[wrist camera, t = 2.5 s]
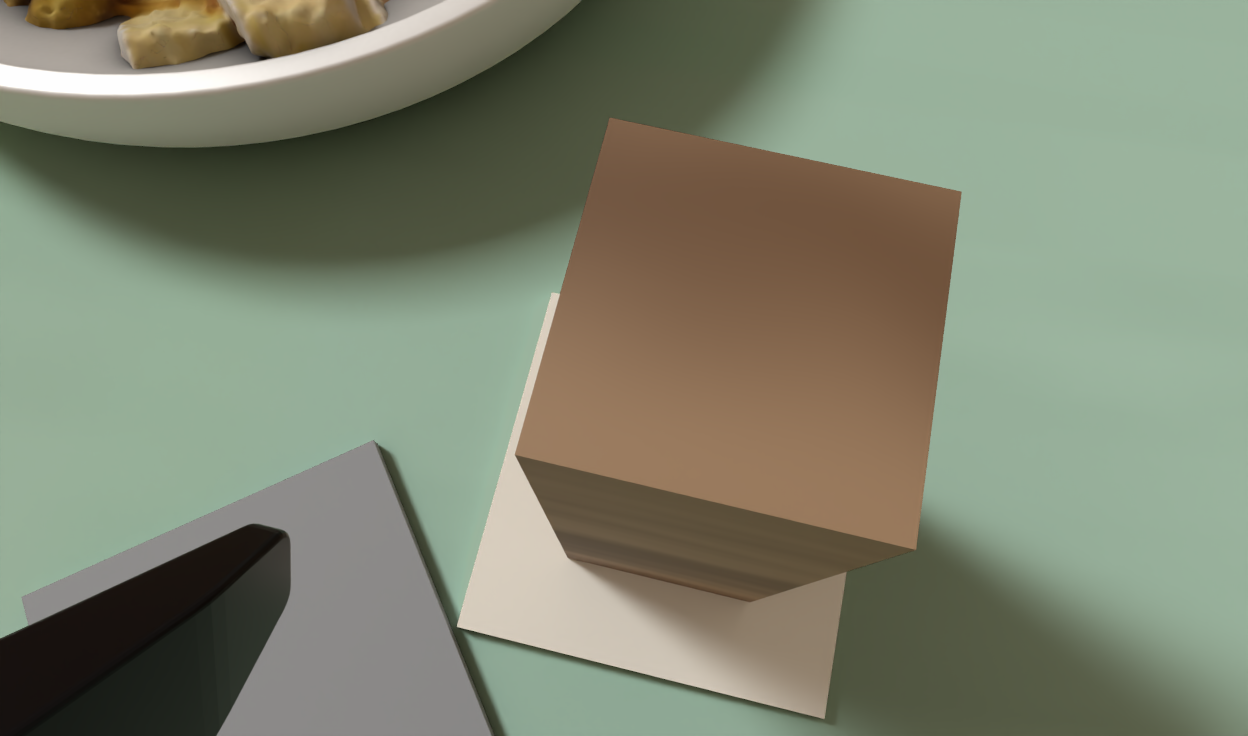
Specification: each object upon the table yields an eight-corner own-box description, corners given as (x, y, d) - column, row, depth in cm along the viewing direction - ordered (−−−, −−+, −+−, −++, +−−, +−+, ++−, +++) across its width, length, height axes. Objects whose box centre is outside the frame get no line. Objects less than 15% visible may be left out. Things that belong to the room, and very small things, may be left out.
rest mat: (514, 786, 20) (512, 788, 19) (133, 984, 18) (123, 992, 18) (377, 443, 22) (373, 440, 22) (32, 598, 21) (21, 597, 21)
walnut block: (749, 602, 21) (915, 549, 9) (567, 557, 21) (515, 454, 10) (782, 424, 22) (961, 191, 11) (611, 385, 23) (610, 118, 11)
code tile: (821, 717, 20) (824, 718, 20) (458, 627, 21) (456, 626, 21) (874, 369, 23) (877, 365, 23) (552, 296, 24) (551, 292, 23)
